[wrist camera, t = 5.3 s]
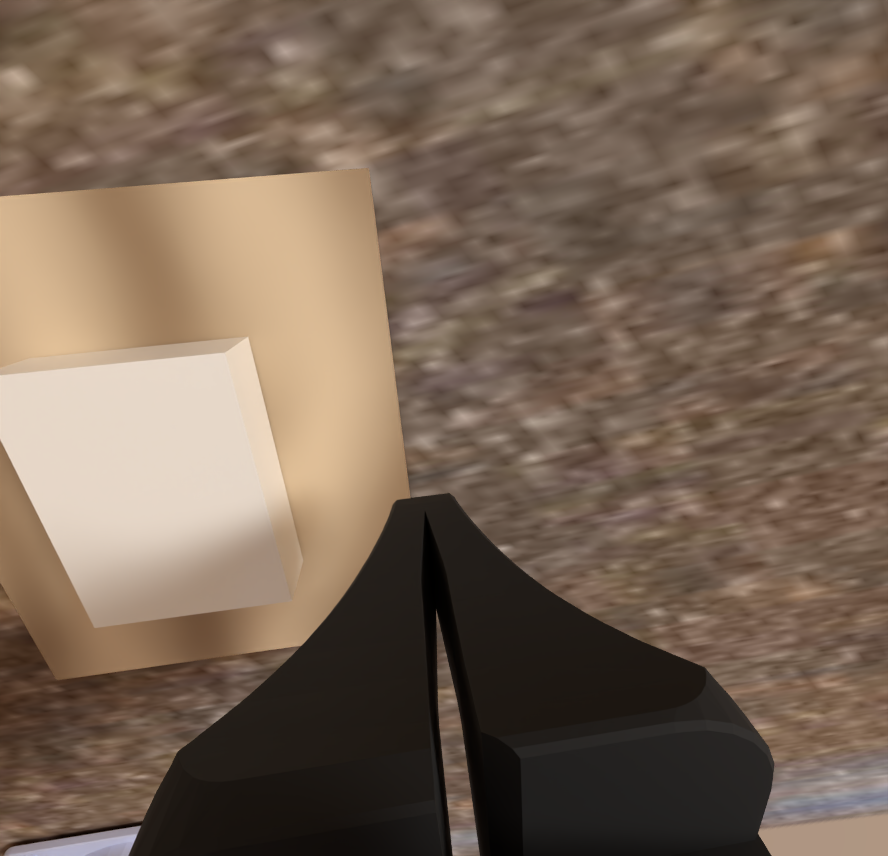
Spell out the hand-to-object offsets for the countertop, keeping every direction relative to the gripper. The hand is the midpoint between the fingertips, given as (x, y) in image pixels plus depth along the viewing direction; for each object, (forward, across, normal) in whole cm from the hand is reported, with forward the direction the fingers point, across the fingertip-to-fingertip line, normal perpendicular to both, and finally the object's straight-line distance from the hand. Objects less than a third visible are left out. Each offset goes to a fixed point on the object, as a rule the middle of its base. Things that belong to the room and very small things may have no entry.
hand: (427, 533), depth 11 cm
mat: (+6, +7, 0) cm, 9 cm away
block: (+4, +4, 0) cm, 6 cm away
